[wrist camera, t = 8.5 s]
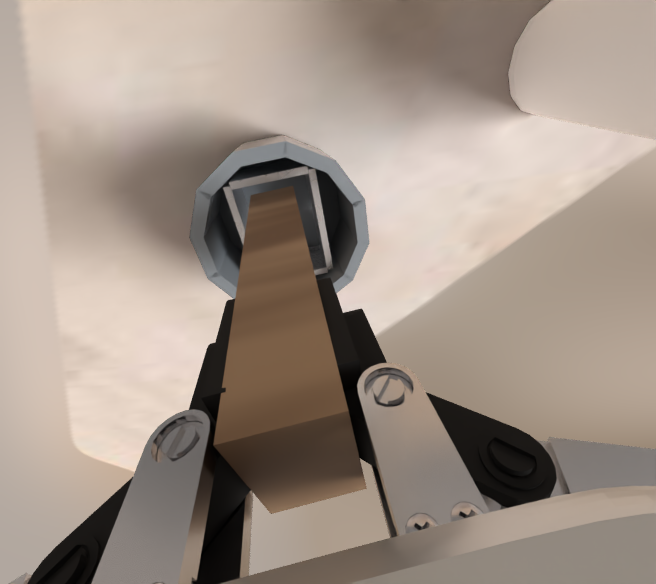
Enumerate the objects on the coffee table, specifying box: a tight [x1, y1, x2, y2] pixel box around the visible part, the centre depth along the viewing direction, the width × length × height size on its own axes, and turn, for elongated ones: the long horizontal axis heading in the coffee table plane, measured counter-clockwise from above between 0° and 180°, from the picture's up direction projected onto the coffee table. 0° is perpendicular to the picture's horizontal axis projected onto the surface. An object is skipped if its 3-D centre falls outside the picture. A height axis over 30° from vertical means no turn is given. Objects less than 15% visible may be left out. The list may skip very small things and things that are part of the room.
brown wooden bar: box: [213, 186, 366, 514], centre depth 12 cm, size 4×2×14 cm
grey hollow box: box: [223, 160, 333, 275], centre depth 20 cm, size 7×5×4 cm
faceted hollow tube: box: [189, 135, 369, 299], centre depth 19 cm, size 10×10×6 cm
